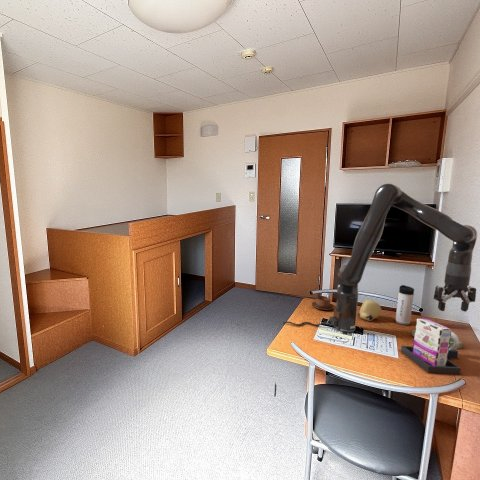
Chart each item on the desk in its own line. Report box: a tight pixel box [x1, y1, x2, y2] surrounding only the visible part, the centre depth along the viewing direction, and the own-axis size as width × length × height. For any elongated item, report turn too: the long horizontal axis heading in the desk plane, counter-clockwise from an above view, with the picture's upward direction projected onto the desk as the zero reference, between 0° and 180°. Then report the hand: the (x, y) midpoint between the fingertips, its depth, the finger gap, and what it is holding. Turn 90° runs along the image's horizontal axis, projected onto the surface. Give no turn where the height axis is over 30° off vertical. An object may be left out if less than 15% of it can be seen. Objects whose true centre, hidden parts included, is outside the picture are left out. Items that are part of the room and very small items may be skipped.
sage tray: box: [411, 330, 463, 349], centre depth 148 cm, size 14×12×3 cm
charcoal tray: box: [400, 345, 462, 375], centre depth 132 cm, size 12×17×3 cm
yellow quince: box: [357, 299, 382, 322], centre depth 174 cm, size 10×12×11 cm
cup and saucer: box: [311, 295, 335, 311], centre depth 190 cm, size 12×12×6 cm
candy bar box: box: [412, 318, 453, 366], centre depth 130 cm, size 11×5×16 cm, turn 5°
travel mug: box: [395, 284, 415, 326], centre depth 168 cm, size 6×7×20 cm
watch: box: [447, 331, 461, 360], centre depth 136 cm, size 6×8×11 cm
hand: (452, 310), depth 133 cm, fingers open, 8 cm apart
